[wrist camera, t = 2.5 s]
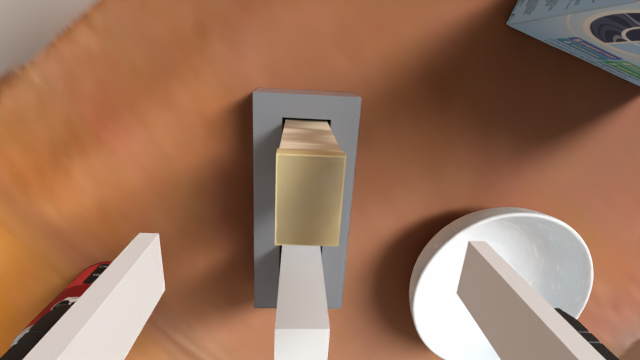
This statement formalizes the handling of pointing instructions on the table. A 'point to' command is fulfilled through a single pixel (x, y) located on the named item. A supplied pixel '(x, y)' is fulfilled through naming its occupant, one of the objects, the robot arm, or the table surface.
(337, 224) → the beech plug
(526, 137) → the table surface
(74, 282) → the canned food
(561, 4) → the gum box
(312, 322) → the white plug
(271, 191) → the grey peg board
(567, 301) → the serving bowl
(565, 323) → the robot arm
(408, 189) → the table surface
